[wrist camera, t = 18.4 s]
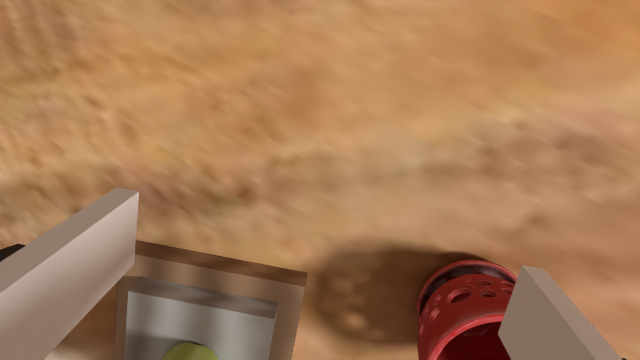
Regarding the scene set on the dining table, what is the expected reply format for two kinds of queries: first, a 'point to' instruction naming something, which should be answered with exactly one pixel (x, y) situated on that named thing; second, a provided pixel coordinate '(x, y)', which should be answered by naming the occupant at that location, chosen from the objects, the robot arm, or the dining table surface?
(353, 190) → the dining table surface
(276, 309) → the stepped square platform
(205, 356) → the plant pot
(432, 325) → the plant pot
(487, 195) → the dining table surface
